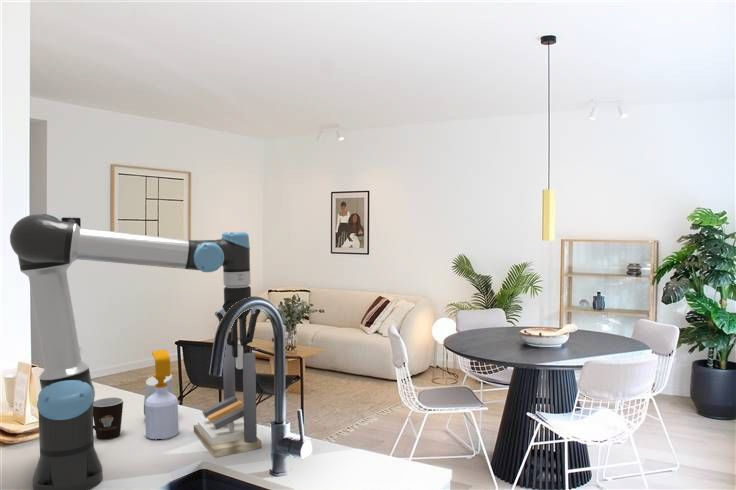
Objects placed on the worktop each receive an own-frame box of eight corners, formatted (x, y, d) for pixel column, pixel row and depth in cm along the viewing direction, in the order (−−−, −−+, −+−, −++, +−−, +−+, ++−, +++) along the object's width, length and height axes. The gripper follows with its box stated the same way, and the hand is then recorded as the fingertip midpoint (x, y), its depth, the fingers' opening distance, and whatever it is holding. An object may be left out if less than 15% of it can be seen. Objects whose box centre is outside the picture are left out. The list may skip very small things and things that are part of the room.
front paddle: (216, 429, 166) (214, 424, 166) (214, 427, 168) (212, 422, 168) (250, 412, 171) (248, 407, 170) (247, 410, 173) (245, 405, 173)
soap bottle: (173, 427, 185) (171, 346, 184) (182, 436, 178) (180, 352, 176) (142, 433, 180) (140, 350, 179) (150, 442, 173) (147, 356, 171)
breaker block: (212, 445, 165) (211, 427, 165) (198, 428, 178) (197, 411, 178) (255, 437, 171) (254, 419, 171) (238, 421, 184) (238, 405, 184)
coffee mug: (129, 430, 182) (128, 397, 182) (115, 441, 174) (113, 406, 173) (92, 429, 183) (91, 396, 183) (76, 440, 175) (74, 406, 174)
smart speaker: (137, 421, 191) (136, 377, 190) (161, 413, 199) (160, 370, 198) (158, 426, 186) (156, 381, 185) (181, 418, 194) (180, 374, 193)
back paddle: (206, 418, 176) (204, 413, 175) (203, 415, 178) (202, 411, 178) (238, 402, 180) (236, 397, 180) (235, 400, 182) (233, 395, 182)
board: (214, 457, 162) (214, 449, 162) (193, 431, 181) (193, 425, 181) (261, 447, 168) (261, 440, 168) (236, 424, 187) (236, 417, 187)
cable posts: (246, 443, 166) (244, 356, 165) (222, 419, 185) (221, 341, 184) (258, 441, 168) (257, 354, 166) (233, 417, 187) (232, 340, 186)
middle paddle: (211, 423, 171) (209, 418, 171) (208, 421, 173) (207, 416, 173) (244, 407, 176) (242, 402, 175) (241, 405, 178) (239, 400, 177)
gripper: (218, 289, 168) (220, 374, 169) (263, 285, 174) (265, 367, 176) (210, 286, 174) (213, 368, 176) (254, 283, 181) (257, 362, 182)
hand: (239, 367), depth 176 cm, fingers closed
